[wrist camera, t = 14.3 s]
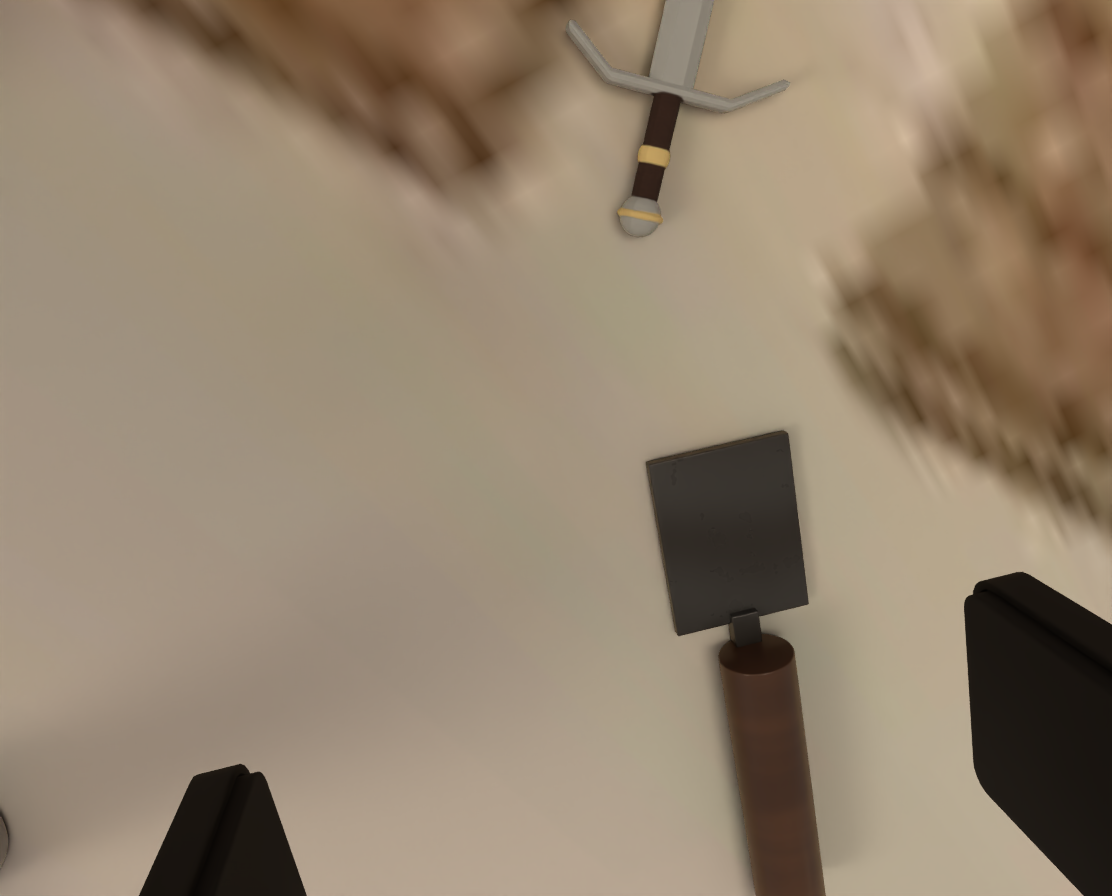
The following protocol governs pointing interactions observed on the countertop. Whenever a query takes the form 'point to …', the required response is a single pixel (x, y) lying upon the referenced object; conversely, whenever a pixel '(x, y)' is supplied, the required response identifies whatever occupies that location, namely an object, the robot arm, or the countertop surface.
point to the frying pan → (665, 99)
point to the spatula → (747, 633)
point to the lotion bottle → (3, 842)
